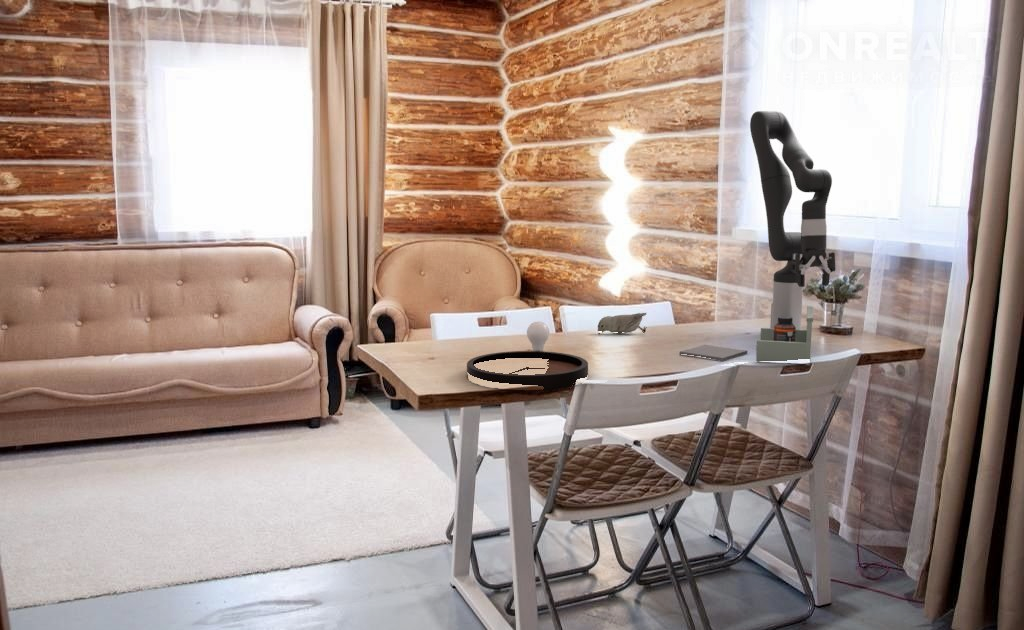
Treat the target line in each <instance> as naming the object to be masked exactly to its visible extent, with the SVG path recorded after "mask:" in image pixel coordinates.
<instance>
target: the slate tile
mask: <svg viewBox="0 0 1024 630" xmlns="http://www.w3.org/2000/svg"><path fill="white" fill-rule="evenodd" d="M680 354H687V355H694V356H701V357H706V358H711V359H716V360H715V361H717V360H720V361H719V362H725V361H729V360H731V359H735V358H738V357H739V358H740V357H742V356H745V355H748V350H746V349H740V348H739V349H738V348H731V347H724V346H717V345H710V344H703V345H699V346H695V347H691V348H688V349H685V350H680V351H679V355H680Z"/></svg>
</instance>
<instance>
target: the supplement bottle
mask: <svg viewBox="0 0 1024 630" xmlns="http://www.w3.org/2000/svg"><path fill="white" fill-rule="evenodd" d="M792 319H793V318H792V317H787V316H780V317H778V323H777V324H776V325H775V326H774V338H773V341H785V342H795V332H796V327H795V325H793V323H792V322H793V321H792Z"/></svg>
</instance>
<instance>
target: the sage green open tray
mask: <svg viewBox="0 0 1024 630" xmlns="http://www.w3.org/2000/svg"><path fill="white" fill-rule="evenodd" d="M813 308H814V307H813V306H806V329H801V330H796V332H795V342H785V341H773V338H774V329H773V328H770V327H761V328H760V339H758V340H756V350H755V351H756V353H755V354H756V355H755V357H756V358H755V361H787V360H798V359H810V360H811V355H812V354H811V353H812V351H811V350H812V332H813V331H812V330H813V322H814V309H813ZM805 366H811V363H810V364H806V365H805Z"/></svg>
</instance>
